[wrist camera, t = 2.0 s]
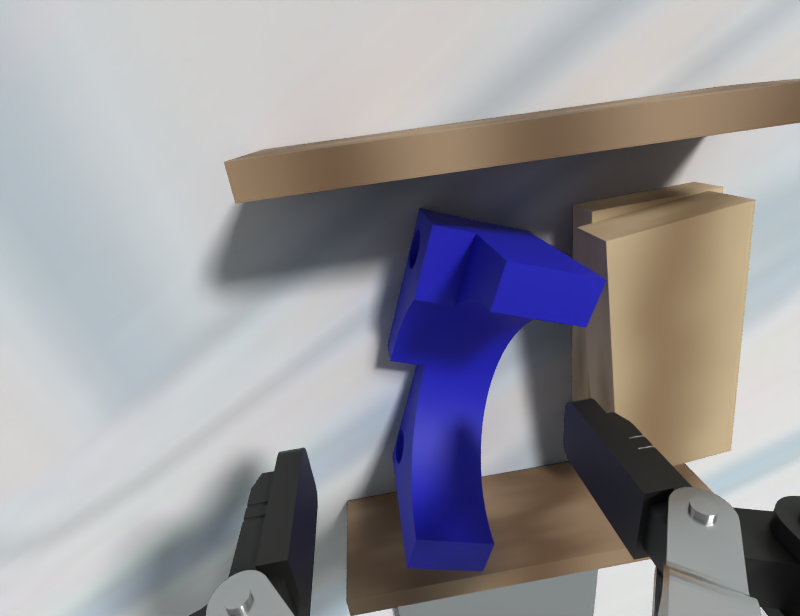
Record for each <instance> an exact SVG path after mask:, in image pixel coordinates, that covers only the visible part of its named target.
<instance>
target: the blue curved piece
mask: <svg viewBox="0 0 800 616" xmlns="http://www.w3.org/2000/svg"><path fill="white" fill-rule="evenodd" d="M605 283H606V279H605V278H603V277H601V276H600V275H598V274H597V273H595V272H593V271H592V270H590V269H588V268H587V267H585V266H584V265H582V264H580V263H579V262H577V261H576V260H574V259H572V258H571V257H569V256H567V255H566V254H564V253H563V252H561V251H559V250H558V249H556V248H554V247H553V246H551V245H550V244H548V243H546V242H545V241H543V240H541V239H540V238H538V237H537V236H535V235H533V234H532V233H530V232H528V231H525V230H520V229H516V228H511V227H506V226H501V225H496V224H491V223H487V222H482V221H477V220H472V219H467V218H462V217H458V216H453V215H448V214H443V213H438V212H433V211H429V210H424V209H419V214H418V218H417V222H416V227H415V231H414V235H413V239H412V244H411V248H410V252H409V256H408V261H407V265H406V269H405V273H404V278H403V282H402V286H401V291H400V295H399V299H398V303H397V308H396V312H395V316H394V320H393V325H392V329H391V333H390V337H389V342H388V351H389V357H390V361H395V362H403V363H410V364H417V366H416V370H415V374H414V378H413V381H412V385H411V389H410V393H409V396H408V400H407V404H406V407H405V411H404V415H403V419H402V422H401V426H400V430H399V434H398V437H397V441H396V445H395V448H394V452H393V464H394V472H395V480H396V488H397V495H398V503H399V511H400V519H401V527H402V534H403V542H404V550H405V558H406V566H407V568H413V569H435V570H457V571H478V572H483V570H484V568H485V566H486V563H487V561H488V559H489V556H490V554H491V551H492V549H493V547H494V541H493V538H492V534H491V531H490V527H489V523H488V519H487V514H486V509H485V503H484V497H483V489H482V478H481V434H482V424H483V416H484V410H485V404H486V399H487V395H488V391H489V387H490V384H491V380H492V377H493V375H494V372H495V369H496V367H497V364H498V362H499V360H500V358H501V356H502V354H503V352H504V350H505V348H506V347H507V345H508V343H509V342H510V341H511V339H512V338H513V337H514V335H515V334H516V333H517V332H518V331H519V330H520V329H521V328H522V327H523V326H524V325H525V324H527V323H528V322H530V321H531V320H533V319H537V320H543V321H549V322H555V323H561V324H567V325H573V326H579V327H586V328H587V325H588V323H589V321H590V318H591V316H592V313H593V311H594V309H595V306H596V304H597V302H598V299H599V297H600V295H601V292H602V290H603V288H604V285H605Z"/></svg>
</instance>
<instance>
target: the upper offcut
mask: <svg viewBox="0 0 800 616" xmlns="http://www.w3.org/2000/svg"><path fill="white" fill-rule="evenodd" d="M754 208H755V200H754V199H749V198H743V197H738V196H733V195H728V194H723V193H718V192H713V191H705V192H702V193H698V194H694V195H691V196H687V197H684V198H680V199H676V200H673V201H669V202H666V203H662V204H659V205H655V206H651V207H648V208H644V209H641V210H637V211H633V212H630V213H626V214H623V215H619V216H615V217H612V218H608V219H605V220H601V221H598V222H594V223H590V224H587V225H583V226H580V227H577V237H578V250H579V262H580V264H582V265H584V266H585V267H587V268H588V269H590V270H592V271H593V272H595V273H597V274H598V275H600V276H601V277H603V278H605V279H606V283H605V285H604V288H603V290H602V292H601V295H600V297H599V299H598V302H597V304H596V306H595V309H594V311H593V313H592V316H591V318H590V321H589V323H588V325H587V328H586V327H585V337H586V349H587V361H588V374H589V386H590V398H592V399H594V400H595V401H596V402H597V403H598V404H599V405H600V406H601V407H602V408H603V409H604V411H605V412H606V413H610V412H615V413H617V414H618V415H620V416H622V417H623V418H625V419H627V420H629V421H630V422H632V424H633V425H634V426H635V427H636V428H637V429H638V430H639V431H640V432H641V433H642V434H643V437H646V438H647V439H648V440H649V441H650V443H651V444H652V445H653V447H655V448H656V449H657V450H658V451H659V452H660V453H661V454H662V455H663V456H664V457H665V458H666V459H667V460H668V462H669V463H670V464H671V465H672V466H675V465H679V464H683V463H686V462H690V461H694V460H697V459H701V458H705V457H708V456H712V455H716V454H719V453H723V452H727V451H730V450H731V444H732V433H733V423H734V413H735V403H736V392H737V382H738V372H739V362H740V351H741V341H742V331H743V321H744V310H745V300H746V290H747V280H748V269H749V259H750V249H751V239H752V228H753V218H754Z"/></svg>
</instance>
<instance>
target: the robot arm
mask: <svg viewBox="0 0 800 616" xmlns="http://www.w3.org/2000/svg"><path fill="white" fill-rule="evenodd" d="M563 441H564V449H565V452H566V455H567V458H568V460H569V462H570V463H571V465H572V466H573V468H574V469H575V471H576V472H577V474H578V475H579V477H580V479H581V480H582V482H583V483H584V485H585V486H586V488H587V489H588V491H589V492H590V494H591V495H592V497H593V498H594V500H595V501H596V503H597V504H598V506H599V507H600V509H601V510H602V512H603V514H604V515H605V517H606V518H607V520H608V521H609V523H610V524H611V526H612V527H613V529H614V530H615V532H616V533H617V535H618V536H619V538H620V539H621V541H622V542H623V544H624V545H625V547H626V549H627V550H628V552H629V553H630V555H631V556H632V558H633V559H634V560H635V559H640V558H646V557H650V558H651V560H652V561H653V562H654V564H655V565H656V568H655V574H654V591H653V608H652V616H761V611H760V607H762V609H763V610H764V611H765V612H766V614H767V615H768V616H800V496H787V497H783V498H781V499H780V500H778V501H777V503H776V505H775V508H774V511H762V510H752V509H741V508H734V507H732V506H731V505H730V504H729V503H728V502H727V501H725V500H724V499H723V498H721V497H720V496H718V495H716V494H714V493H712V492H710V491H707V490H704V489H700V488H695V487H692V486H691V485H690V484H689V483H688V482H687V480H686V479H685V478H684V477H683V476H682V475H681V474H680V473H679V472H678V471H677V470H676V469H675V468H674V467H673V466H672V465H671V464H670V463H669V462H668V460H667V459H666V458H665V457H664V456H663V455H662V454H661V453H660V452H659V451H658V450H657V449H656V448H655V447H653V445H652V444H651V443H650V441H649V440H648V439H647V438H646V437H643V434H642V433H641V432H640V431H639V430H638V429H637V428H636V427H635V426H634V425H633V424H632V422H630V421H629V420H627V419H625V418H623V417H622V416H620V415H618V414H617V413H615V412H610V413H606V412H605V411H604V409H603V408H602V407H601V406H600V405H599V404H598V403H597V402H596V401H595V400H594V399H592V398H589V399H584V400H578V401H572V402H568V403H566V406H565V419H564V439H563ZM317 508H318V500H317V490H316V485H315V481H314V477H313V474H312V470H311V466H310V463H309V459H308V455H307V452H306V449H305V448H299V449H293V450H288V451H282V452H279V453H278V456H277V461H276V466H275V471H273V472H267V473H262V474H261V476H260V477H259V479H258V480H257V482H256V483H255V484H254V486H253V487H252V489H251V492H250V496H249V500H248V504H247V508H246V512H245V516H244V522H243V524H242V527H241V531H240V535H239V539H238V543H237V547H236V551H235V555H234V559H233V563H232V567H231V570H230V574H229V577H228V579H226V580H225V581H224V582H223V583H222V584H221V585H220V586H219V587H218V588H217V589H216V591H215V592H214V593H213V595H212V597H211V598H210V600H209V603H208V604H207V605H206V606H205V607H203V608H202V609H200V610H199V611H197V612H195V613H193V614H191V615H189V616H310V605H311V592H312V578H313V564H314V550H315V536H316V522H317Z"/></svg>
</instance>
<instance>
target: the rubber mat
mask: <svg viewBox="0 0 800 616" xmlns="http://www.w3.org/2000/svg"><path fill="white" fill-rule="evenodd" d="M597 573H598V569H595V570H590V571H585V572H579V573H574V574H569V575H564V576H558V577H553V578H548V579H543V580H537V581H532V582H527V583H522V584H516V585H511V586H506V587H501V588H495V589H490V590H485V591H480V592H474V593H469V594H464V595H459V596H453V597H448V598H443V599H438V600H432V601H427V602H422V603H417V604H411V605H406V606H401V607H398V611H399V616H593V613H594V603H595V593H596V583H597Z"/></svg>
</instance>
